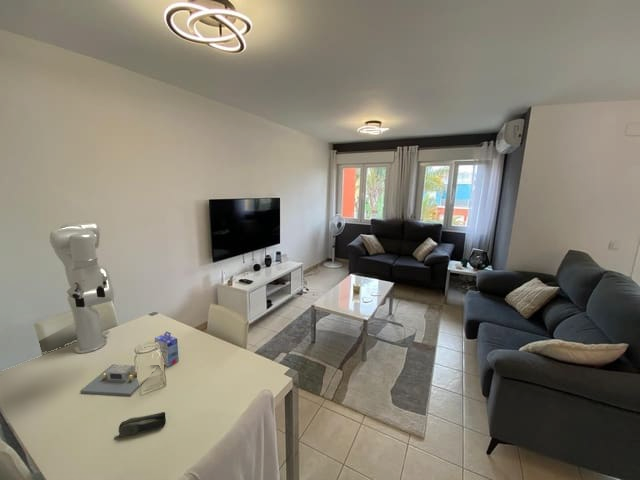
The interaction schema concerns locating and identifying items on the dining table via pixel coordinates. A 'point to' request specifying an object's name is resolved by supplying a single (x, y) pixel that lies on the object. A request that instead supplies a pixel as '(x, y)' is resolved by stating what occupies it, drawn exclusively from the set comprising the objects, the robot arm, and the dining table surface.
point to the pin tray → (112, 385)
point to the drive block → (119, 373)
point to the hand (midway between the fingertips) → (91, 301)
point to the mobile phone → (141, 424)
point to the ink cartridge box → (168, 348)
